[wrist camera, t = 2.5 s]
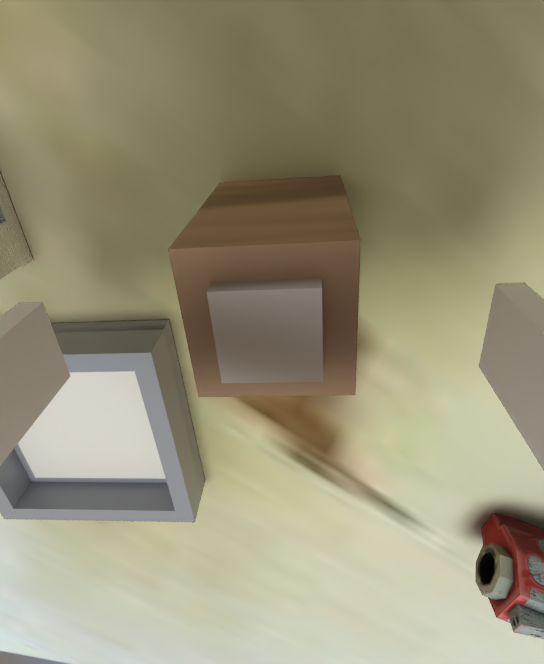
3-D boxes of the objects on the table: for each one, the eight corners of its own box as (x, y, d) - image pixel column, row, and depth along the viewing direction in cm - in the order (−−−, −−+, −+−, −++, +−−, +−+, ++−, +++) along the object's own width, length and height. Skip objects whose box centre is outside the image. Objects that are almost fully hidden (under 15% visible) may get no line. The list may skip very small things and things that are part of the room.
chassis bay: (-50, 326, 23) (-95, 358, 20) (169, 319, 22) (150, 352, 19) (31, 479, 29) (4, 518, 27) (205, 480, 28) (194, 522, 25)
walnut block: (220, 182, 18) (161, 257, 11) (339, 175, 18) (362, 248, 10) (234, 290, 21) (194, 409, 13) (338, 286, 20) (357, 407, 13)
